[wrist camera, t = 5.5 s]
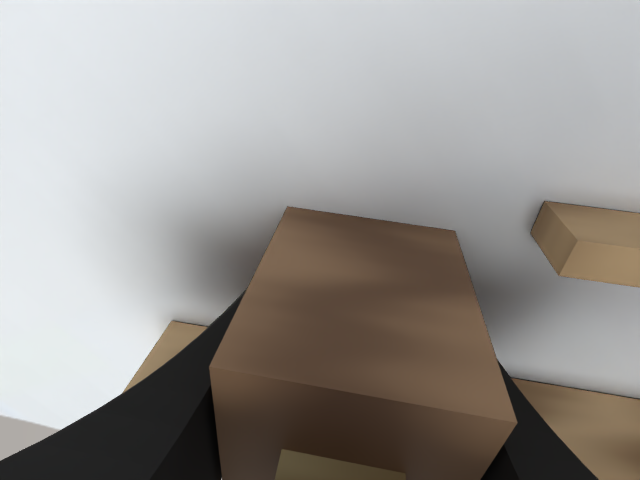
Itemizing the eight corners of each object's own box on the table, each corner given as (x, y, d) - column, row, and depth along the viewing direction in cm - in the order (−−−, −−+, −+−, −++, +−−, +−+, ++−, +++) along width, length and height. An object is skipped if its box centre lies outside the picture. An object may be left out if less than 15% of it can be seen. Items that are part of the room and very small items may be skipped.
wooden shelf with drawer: (988, 258, 9) (1283, 378, 6) (736, 453, 14) (832, 572, 11) (138, 148, 11) (46, 200, 8) (178, 354, 16) (130, 434, 13)
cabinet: (454, 230, 11) (540, 493, 5) (416, 346, 13) (441, 606, 8) (287, 205, 11) (181, 423, 5) (282, 323, 14) (208, 554, 8)
